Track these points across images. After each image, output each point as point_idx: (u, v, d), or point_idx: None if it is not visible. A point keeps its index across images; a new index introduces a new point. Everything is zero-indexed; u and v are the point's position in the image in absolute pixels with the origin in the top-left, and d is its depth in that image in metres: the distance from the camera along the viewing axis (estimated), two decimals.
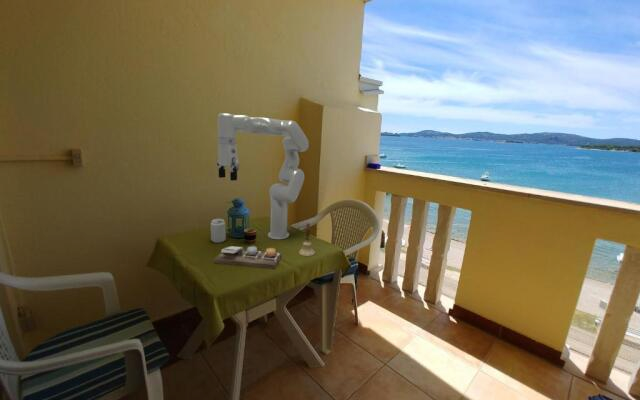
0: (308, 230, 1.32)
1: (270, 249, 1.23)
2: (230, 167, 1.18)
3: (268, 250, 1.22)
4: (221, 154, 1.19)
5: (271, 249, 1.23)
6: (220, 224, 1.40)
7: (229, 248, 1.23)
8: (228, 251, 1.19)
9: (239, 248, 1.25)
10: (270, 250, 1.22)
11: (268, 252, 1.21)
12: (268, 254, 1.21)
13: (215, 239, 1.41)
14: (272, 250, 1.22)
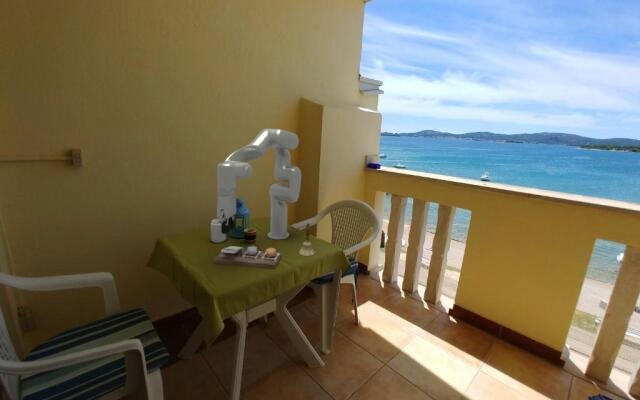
0: (308, 230, 1.32)
1: (270, 249, 1.23)
2: (233, 216, 1.19)
3: (268, 250, 1.22)
4: (232, 204, 1.14)
5: (271, 249, 1.23)
6: (220, 224, 1.40)
7: (229, 248, 1.23)
8: (228, 251, 1.19)
9: (239, 248, 1.25)
10: (270, 250, 1.22)
11: (268, 252, 1.21)
12: (268, 254, 1.21)
13: (215, 239, 1.41)
14: (272, 250, 1.22)
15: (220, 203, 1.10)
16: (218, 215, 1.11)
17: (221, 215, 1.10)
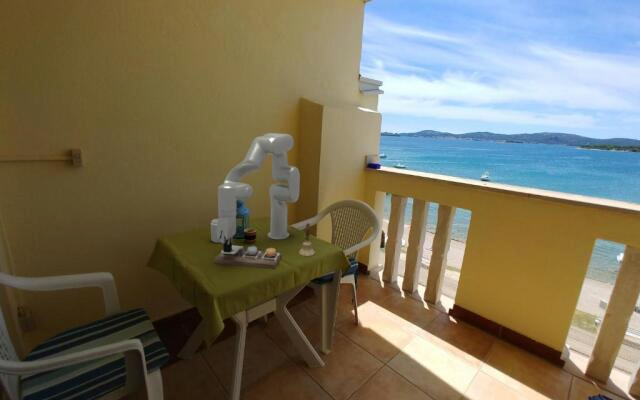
0: (308, 230, 1.32)
1: (270, 249, 1.23)
2: None
3: (268, 250, 1.22)
4: (232, 225, 1.16)
5: (271, 249, 1.23)
6: None
7: None
8: (228, 252, 1.19)
9: (239, 248, 1.25)
10: (270, 250, 1.22)
11: (268, 252, 1.21)
12: (268, 254, 1.21)
13: (215, 239, 1.41)
14: (272, 250, 1.22)
15: (220, 224, 1.11)
16: (218, 236, 1.12)
17: (222, 237, 1.12)
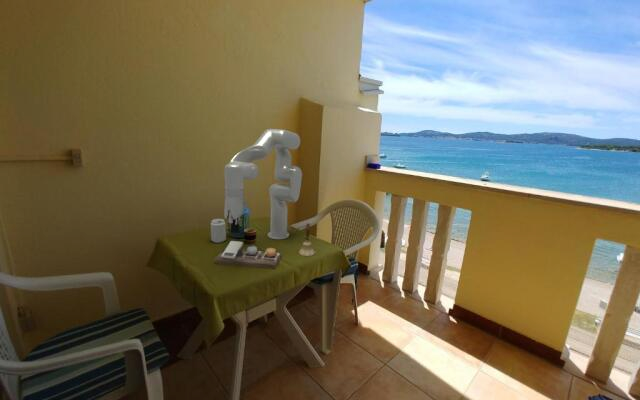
0: (308, 230, 1.32)
1: (270, 249, 1.23)
2: (239, 218, 1.18)
3: (268, 250, 1.22)
4: (239, 205, 1.15)
5: (271, 249, 1.23)
6: (220, 224, 1.40)
7: (229, 249, 1.23)
8: (228, 257, 1.20)
9: (239, 247, 1.25)
10: (270, 250, 1.22)
11: (268, 252, 1.21)
12: (268, 254, 1.21)
13: (215, 239, 1.41)
14: (272, 250, 1.22)
15: (227, 204, 1.10)
16: (225, 216, 1.12)
17: (230, 217, 1.12)
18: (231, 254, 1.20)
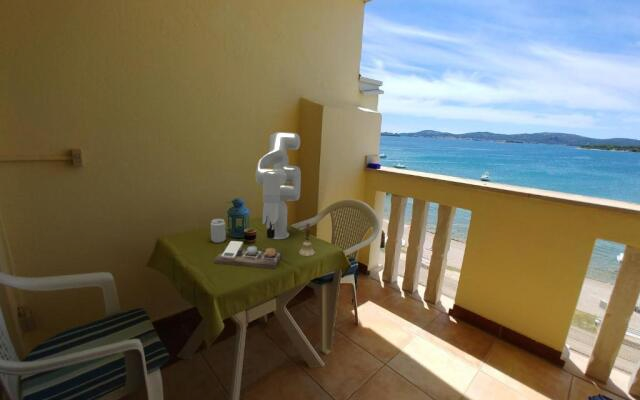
0: (308, 230, 1.32)
1: (270, 249, 1.23)
2: (274, 223, 1.21)
3: (268, 250, 1.22)
4: (276, 211, 1.17)
5: (271, 249, 1.23)
6: (220, 224, 1.40)
7: (229, 250, 1.23)
8: (228, 257, 1.20)
9: (239, 247, 1.25)
10: (270, 250, 1.22)
11: (268, 252, 1.21)
12: (268, 254, 1.21)
13: (215, 239, 1.41)
14: (272, 250, 1.22)
15: (266, 209, 1.13)
16: (264, 221, 1.14)
17: (268, 222, 1.14)
18: (231, 254, 1.20)
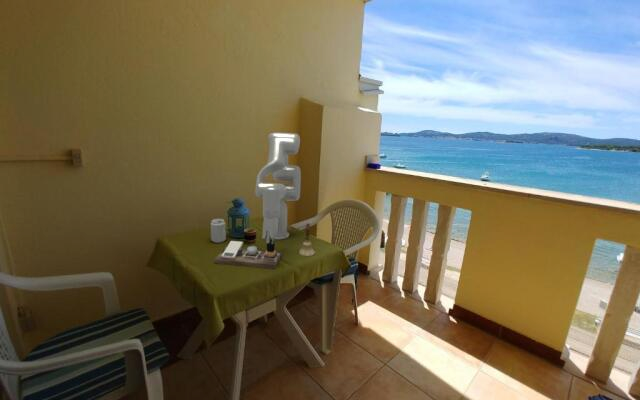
0: (308, 230, 1.32)
1: None
2: (274, 237, 1.23)
3: None
4: (276, 225, 1.19)
5: None
6: (220, 224, 1.40)
7: (229, 250, 1.23)
8: (228, 257, 1.20)
9: (239, 247, 1.25)
10: None
11: (268, 253, 1.21)
12: (268, 255, 1.21)
13: (215, 239, 1.41)
14: None
15: (266, 225, 1.15)
16: (264, 236, 1.16)
17: (268, 237, 1.16)
18: (231, 254, 1.20)
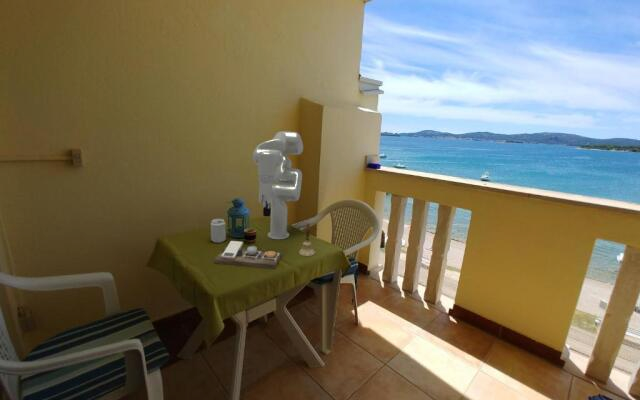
0: (308, 230, 1.32)
1: (270, 252, 1.23)
2: (270, 202, 1.26)
3: (268, 253, 1.22)
4: (271, 190, 1.22)
5: (271, 252, 1.23)
6: (220, 224, 1.40)
7: (229, 250, 1.23)
8: (228, 257, 1.20)
9: (239, 247, 1.25)
10: (269, 253, 1.22)
11: (268, 255, 1.21)
12: (268, 257, 1.21)
13: (215, 239, 1.41)
14: (272, 253, 1.22)
15: (262, 189, 1.18)
16: (260, 200, 1.19)
17: (264, 201, 1.19)
18: (231, 254, 1.20)
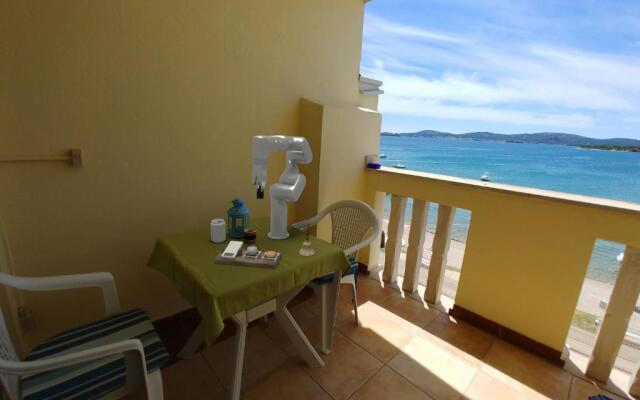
0: (308, 230, 1.32)
1: (270, 252, 1.23)
2: (263, 186, 1.32)
3: (268, 253, 1.22)
4: (265, 173, 1.28)
5: (271, 252, 1.23)
6: (220, 224, 1.40)
7: (229, 250, 1.23)
8: (228, 257, 1.20)
9: (239, 247, 1.25)
10: (269, 253, 1.22)
11: (268, 255, 1.21)
12: (268, 257, 1.21)
13: (215, 239, 1.41)
14: (272, 253, 1.22)
15: (255, 171, 1.24)
16: (253, 182, 1.25)
17: (257, 183, 1.25)
18: (231, 254, 1.20)
